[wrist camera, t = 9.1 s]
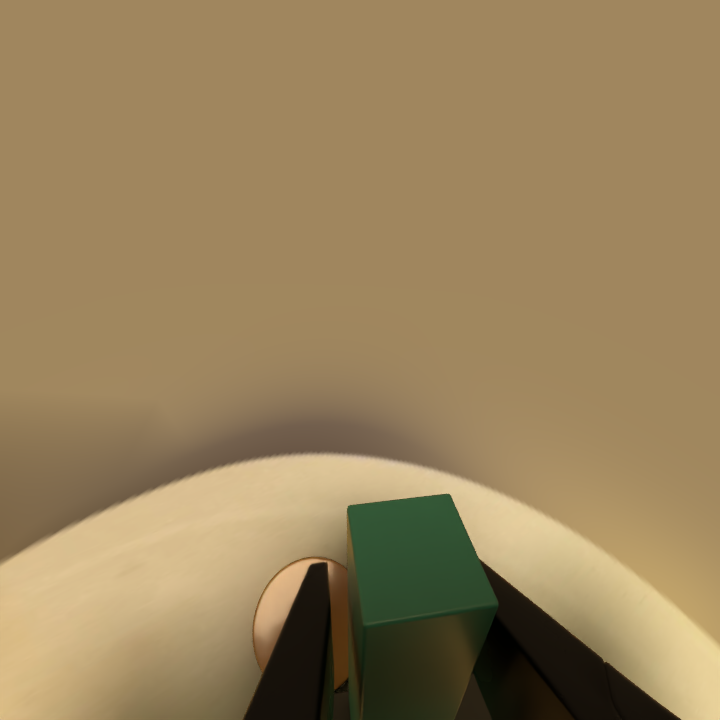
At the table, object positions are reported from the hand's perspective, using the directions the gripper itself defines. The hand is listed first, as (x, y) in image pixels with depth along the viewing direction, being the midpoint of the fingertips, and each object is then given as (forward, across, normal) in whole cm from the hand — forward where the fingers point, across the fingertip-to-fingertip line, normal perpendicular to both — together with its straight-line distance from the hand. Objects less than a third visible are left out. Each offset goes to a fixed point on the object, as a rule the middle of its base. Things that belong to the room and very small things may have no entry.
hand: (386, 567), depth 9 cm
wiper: (0, 0, +8) cm, 8 cm away
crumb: (+4, +2, +6) cm, 7 cm away
